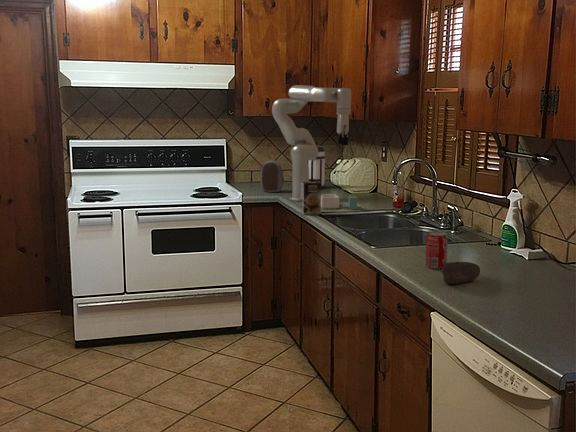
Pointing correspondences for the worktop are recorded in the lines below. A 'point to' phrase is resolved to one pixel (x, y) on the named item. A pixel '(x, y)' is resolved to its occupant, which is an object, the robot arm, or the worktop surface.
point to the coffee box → (310, 198)
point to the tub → (329, 201)
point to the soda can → (436, 250)
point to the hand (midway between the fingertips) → (342, 144)
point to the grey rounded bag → (272, 176)
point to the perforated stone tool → (460, 272)
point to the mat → (348, 208)
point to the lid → (351, 203)
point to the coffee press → (317, 167)
